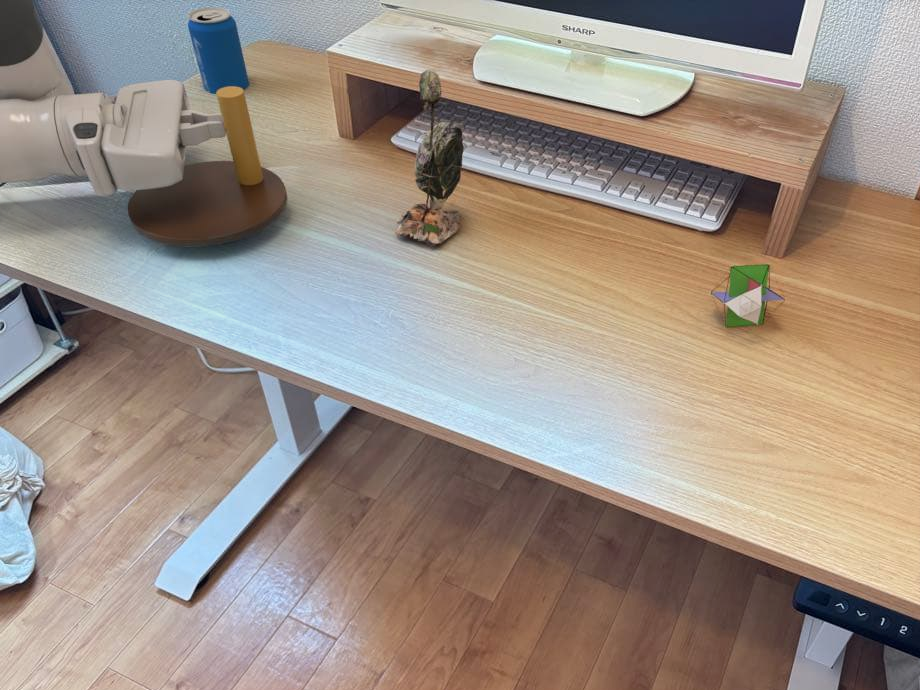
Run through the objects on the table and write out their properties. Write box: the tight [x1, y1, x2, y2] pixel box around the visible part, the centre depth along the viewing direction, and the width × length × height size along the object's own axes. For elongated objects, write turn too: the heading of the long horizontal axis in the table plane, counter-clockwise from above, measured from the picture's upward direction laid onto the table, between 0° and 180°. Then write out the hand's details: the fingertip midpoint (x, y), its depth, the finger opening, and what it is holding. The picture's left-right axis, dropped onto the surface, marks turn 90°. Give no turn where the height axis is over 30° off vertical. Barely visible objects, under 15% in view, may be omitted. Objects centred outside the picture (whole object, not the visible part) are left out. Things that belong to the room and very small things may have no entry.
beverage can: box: [187, 6, 250, 95], centre depth 116 cm, size 6×6×12 cm
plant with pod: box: [394, 69, 465, 247], centre depth 91 cm, size 8×11×20 cm
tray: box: [126, 86, 288, 248], centre depth 91 cm, size 18×18×12 cm
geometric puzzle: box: [709, 263, 787, 329], centre depth 84 cm, size 7×7×8 cm
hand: (224, 124), depth 94 cm, fingers closed
